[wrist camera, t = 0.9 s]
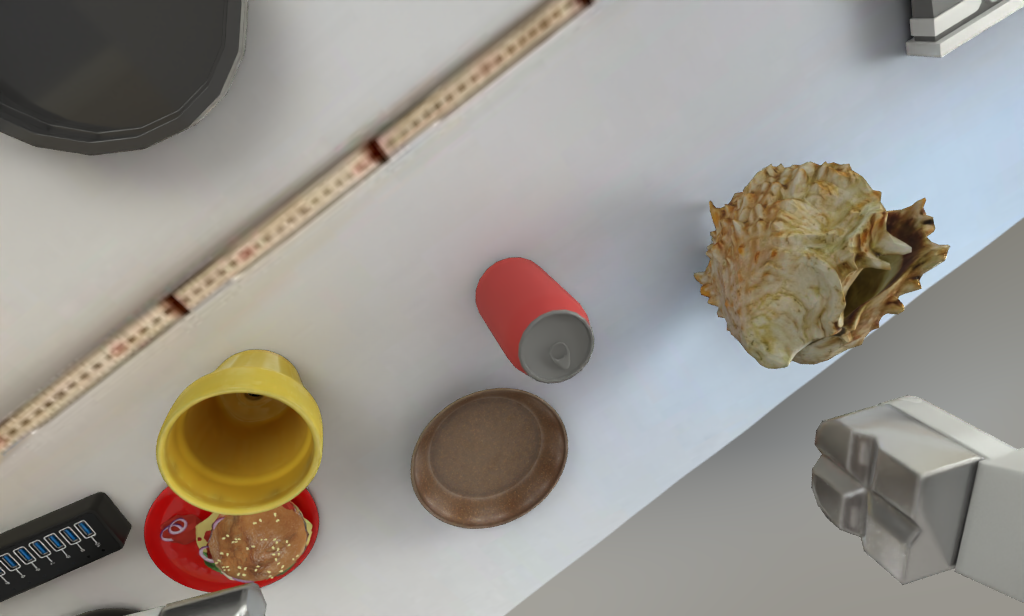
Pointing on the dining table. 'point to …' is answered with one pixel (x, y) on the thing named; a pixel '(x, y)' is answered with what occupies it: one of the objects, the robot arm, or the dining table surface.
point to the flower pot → (242, 437)
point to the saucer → (489, 458)
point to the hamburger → (228, 542)
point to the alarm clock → (952, 23)
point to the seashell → (812, 262)
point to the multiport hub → (60, 543)
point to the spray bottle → (108, 612)
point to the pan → (114, 69)
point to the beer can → (534, 320)
